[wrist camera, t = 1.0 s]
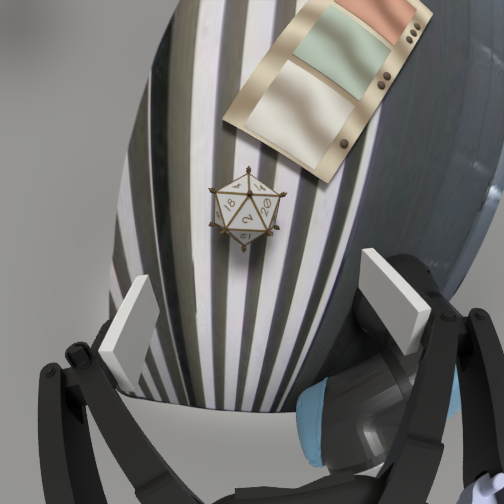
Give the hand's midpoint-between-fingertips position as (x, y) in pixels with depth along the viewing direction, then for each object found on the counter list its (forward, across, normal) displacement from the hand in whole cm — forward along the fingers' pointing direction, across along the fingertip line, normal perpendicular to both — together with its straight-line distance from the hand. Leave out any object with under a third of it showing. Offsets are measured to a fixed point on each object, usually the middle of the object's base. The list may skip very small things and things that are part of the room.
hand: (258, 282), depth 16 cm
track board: (+20, -14, -19) cm, 31 cm away
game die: (+20, 0, 0) cm, 20 cm away
